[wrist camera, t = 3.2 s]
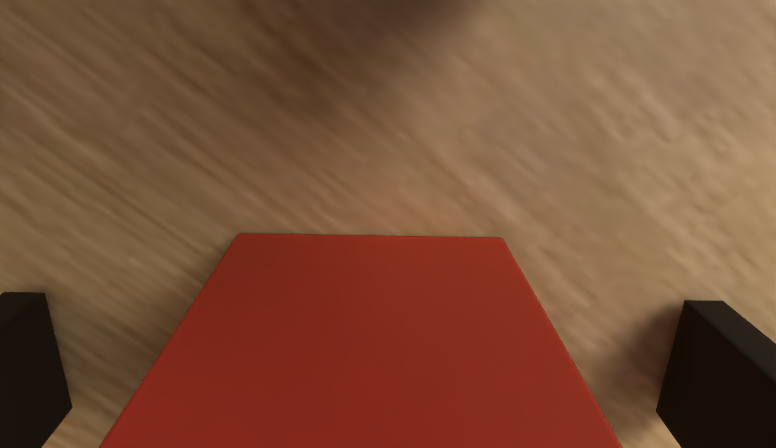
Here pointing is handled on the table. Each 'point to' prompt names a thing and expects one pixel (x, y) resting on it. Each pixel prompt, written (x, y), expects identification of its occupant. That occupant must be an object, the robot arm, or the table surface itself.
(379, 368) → the red block
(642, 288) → the table surface
